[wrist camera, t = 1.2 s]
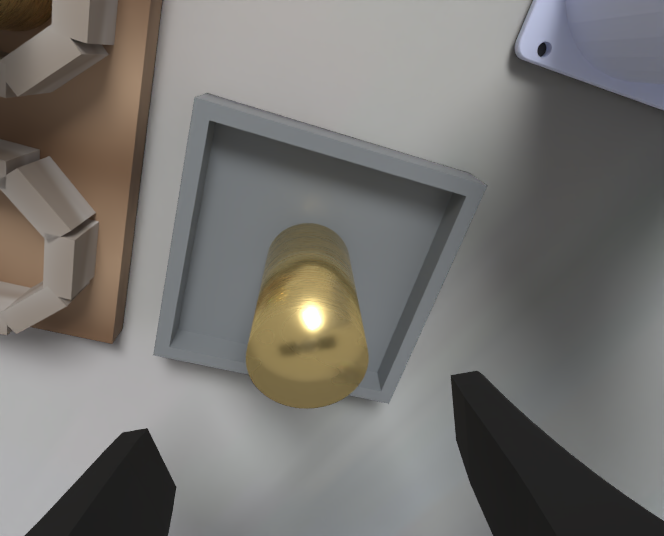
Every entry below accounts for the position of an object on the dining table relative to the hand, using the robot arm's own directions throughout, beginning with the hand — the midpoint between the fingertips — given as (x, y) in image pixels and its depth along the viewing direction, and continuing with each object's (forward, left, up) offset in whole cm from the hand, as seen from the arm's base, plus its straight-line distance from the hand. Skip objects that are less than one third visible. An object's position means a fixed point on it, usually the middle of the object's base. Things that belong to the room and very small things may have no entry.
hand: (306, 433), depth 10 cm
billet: (0, 0, -10) cm, 10 cm away
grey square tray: (0, 0, -10) cm, 10 cm away
